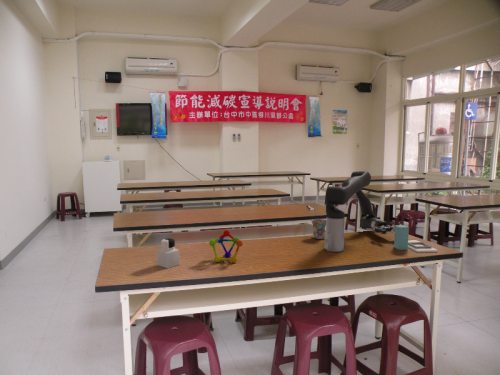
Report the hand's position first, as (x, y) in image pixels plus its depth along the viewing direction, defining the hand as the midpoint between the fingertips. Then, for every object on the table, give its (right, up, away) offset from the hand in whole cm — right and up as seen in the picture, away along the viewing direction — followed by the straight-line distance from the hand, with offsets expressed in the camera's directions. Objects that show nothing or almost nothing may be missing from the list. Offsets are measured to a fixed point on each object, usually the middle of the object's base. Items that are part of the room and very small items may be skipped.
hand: (392, 232), depth 194 cm
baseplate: (+11, -7, -6) cm, 14 cm away
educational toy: (-91, -10, -28) cm, 96 cm away
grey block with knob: (-117, -11, -36) cm, 122 cm away
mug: (-39, -5, +15) cm, 42 cm away
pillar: (+1, -7, -9) cm, 11 cm away
